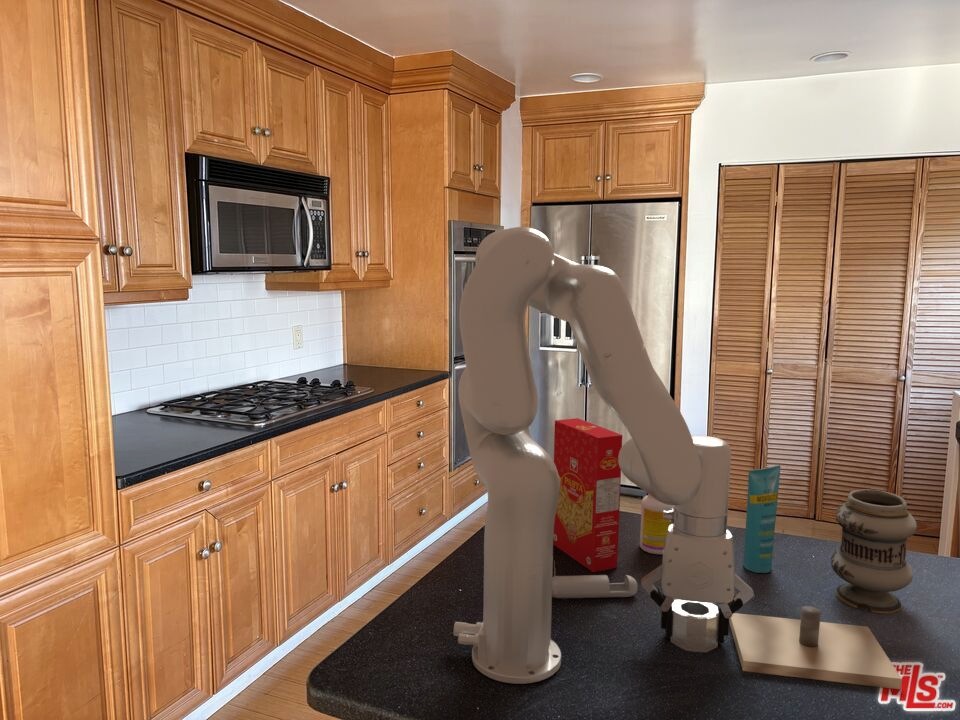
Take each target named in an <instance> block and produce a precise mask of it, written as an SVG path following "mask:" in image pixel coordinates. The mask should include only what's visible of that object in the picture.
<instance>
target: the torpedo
mask: <svg viewBox="0 0 960 720" xmlns="http://www.w3.org/2000/svg"><path fill="white" fill-rule="evenodd" d="M553 573H554V575H553V576H552V598H554V599H584V598H585V599H592V598H593V599H601V598H602V599H603V598H604V599H605V598H609V599H610V598H630V597H633V596H634V595H636V593H638V582H637V580H636V579H635V578H634V577H633V576H631V575H628V574H625V575H624V579H623V581H624V582H613V583H612V582H611V583H610V578H609V577H608V575H606V574H599V575H598V574H597V575H596V574H594V575H593V574H591V575H590V574H589V575H583V574H582V575H556V569H554V571H553Z"/></svg>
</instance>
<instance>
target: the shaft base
mask: <svg viewBox="0 0 960 720" xmlns="http://www.w3.org/2000/svg"><path fill="white" fill-rule="evenodd" d="M800 611H801V612H800V614H801V615H800V619H795V618H787V617H786V618H785V617H777V616H766V615H758V614H748V613H737V612H735V613H733V614H732V617H731V618H729V628H730V631H731V634H732V637H733V641H734V644H735V648H736V652H737V655H738V660H739V662H740V666H741V670H742V672H749V673H758V674H765V675H767V674H768V675H775V676H784V677H793V678H801V679H811V680H819V681H826V682H834V683H842V684H843V683H844V684H851V685H861V686H870V687H879V688H885V689H894V690H895V689H896V690H901V689H902V682H903V678H902V677H901V675H900V673H899V672H898V671H897V669H896V668H895V666H894V664H893V663H892V662H891V660H890V658H889V657H888V656H887V653H886V652H885V650H884V649H883V647H882V646H881V644H880V643H879V641H878V640H877V638H876V637H875V635H874V633H872V631H871V629H870V628H869V627H868V626H865V625H856V624H846V623H835V622H826V621H821V610H820V609H818V608H816V607H815V606H809V605H806V606H805V605H804V606H802V607H801V609H800Z"/></svg>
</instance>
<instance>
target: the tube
mask: <svg viewBox="0 0 960 720" xmlns="http://www.w3.org/2000/svg"><path fill="white" fill-rule="evenodd" d="M780 476H781V464H780V465H774V466H770V467H765V468H759V469H750V470H749V471H748V479H747V481H748V483H747V497H746V498H747V501H746V515H745V516H746V518H745V519H746V520H745V534H744V535H745V536H744V547H743V551H744V552H743V567H744V568H745V569H746V570H747V571H750V572H753V573H761V574H767V573H770V572H771V571H772V567H773V557H774V556H773V555H774V542H775V541H774V540H775V531H776V519H777V511H778V510H777V509H778V508H777V507H778V500H779V499H778V498H779V488H780Z"/></svg>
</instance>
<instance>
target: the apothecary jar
mask: <svg viewBox="0 0 960 720" xmlns="http://www.w3.org/2000/svg"><path fill="white" fill-rule="evenodd" d="M835 519H836V521H837V524H838V525H840V527H841V540H840V545H839V547H840V548H838V549H837V550H836V551H834V552H833V554H832V555H831V558H830V566H831V568H832V570H833V571H834V573H835V574H836V575H837V576H838V577H839V578H840V579H842V581H845V582H846V583H844V584H841V585H838V586H837V587H836V588H835V590H834V593H835V596H836V598H838V600H840V601H841V602H843V603H844V604H846V605H847V606H849V607H852V608H855V609H858V610H866V611H868V612H870V613H876V614H883V613H887V614H893V612H894V613H897V612H899V611H900V610H901V609H902V603H901V601H900V600H899V598H898V597H897V596H896V595H894V594H892V593H891V592H896V591H899V590H903V589H905V587H907V586H909V585H910V584H911V583H912V581H913V578H914V572H913V568H912V567H911V565H910V564H909V562H908V561H907V559H906V555H907V542H908V541H907V540H908V538H911V537H912V536H913V535H915V533H916V532H917V528H918V525H917V524H918V523H917V521H916V519H915V517H913V515H912V514H911V513H910V512H909V511H908V508H907V500H906V499H904V498H903V496H900V495H898V494H895V493H892V492H888V491H885V490H877V489H869V488H868V489H867V488H866V489H854V490H851V491H850V492H849V493H848V496H847V499H846V500H845V502H843V503H842V504H841V505H839V506H838V508H837V509H836V510H835ZM896 611H897V612H896Z"/></svg>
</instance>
